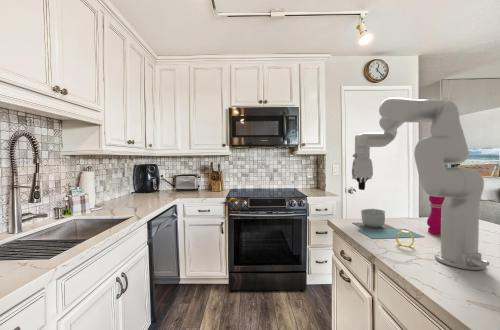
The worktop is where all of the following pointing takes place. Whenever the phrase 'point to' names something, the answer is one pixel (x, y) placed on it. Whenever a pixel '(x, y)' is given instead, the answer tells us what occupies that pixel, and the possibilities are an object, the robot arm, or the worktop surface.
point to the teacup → (373, 217)
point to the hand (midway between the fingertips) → (361, 189)
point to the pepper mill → (435, 215)
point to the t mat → (384, 232)
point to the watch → (405, 233)
